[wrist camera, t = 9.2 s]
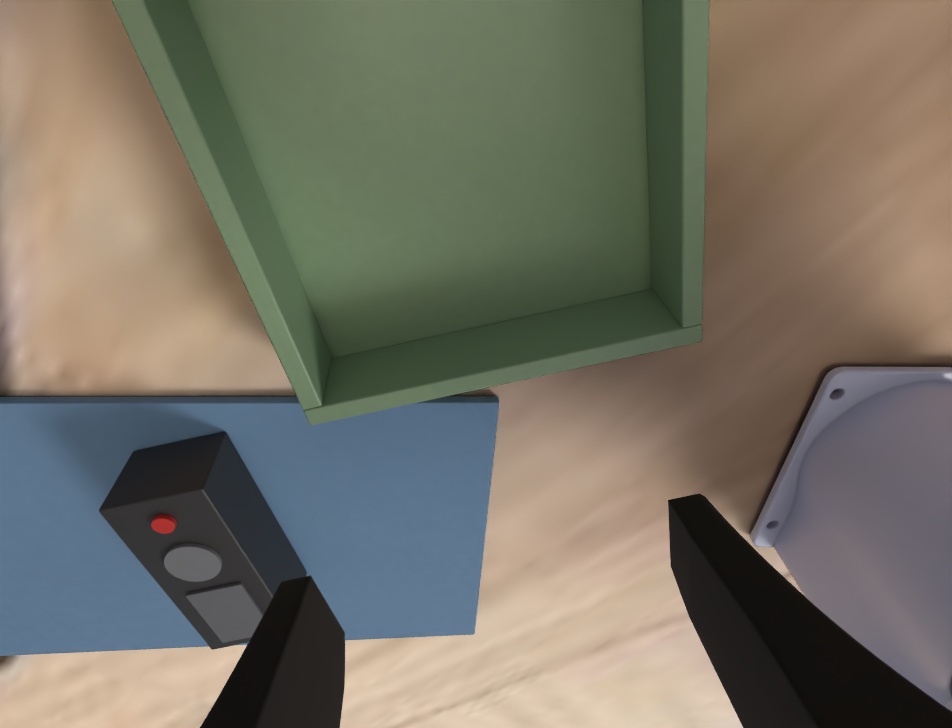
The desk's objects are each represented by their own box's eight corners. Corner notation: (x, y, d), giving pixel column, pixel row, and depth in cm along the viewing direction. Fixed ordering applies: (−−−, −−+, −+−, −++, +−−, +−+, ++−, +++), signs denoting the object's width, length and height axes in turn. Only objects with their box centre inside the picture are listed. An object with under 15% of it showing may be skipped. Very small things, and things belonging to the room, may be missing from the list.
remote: (307, 571, 25) (296, 638, 22) (230, 587, 25) (209, 655, 22) (226, 429, 20) (200, 493, 18) (132, 450, 21) (93, 516, 18)
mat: (473, 627, 29) (474, 634, 28) (-16, 648, 26) (-22, 657, 26) (498, 396, 21) (499, 402, 21) (-188, 396, 19) (-199, 403, 18)
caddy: (665, 295, 19) (702, 342, 17) (322, 369, 20) (309, 426, 17) (656, -201, 13) (716, -244, 10) (135, -72, 13) (71, -83, 11)
